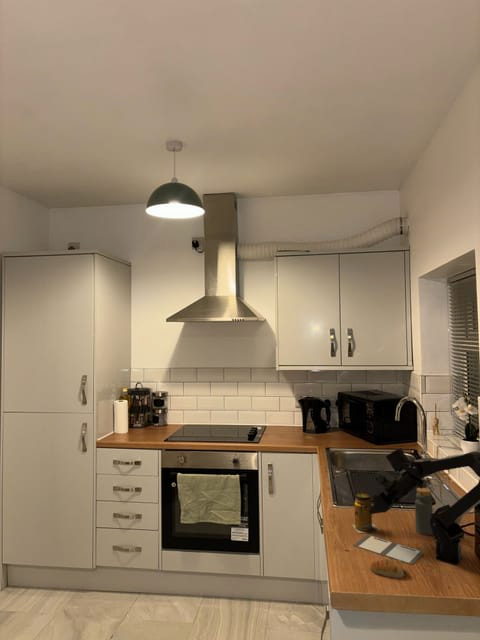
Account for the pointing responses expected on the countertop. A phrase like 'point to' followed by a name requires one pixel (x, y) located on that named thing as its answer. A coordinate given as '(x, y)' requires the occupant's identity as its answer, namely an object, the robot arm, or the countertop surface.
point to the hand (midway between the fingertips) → (375, 509)
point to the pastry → (388, 568)
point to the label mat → (389, 549)
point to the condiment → (363, 515)
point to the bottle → (423, 511)
